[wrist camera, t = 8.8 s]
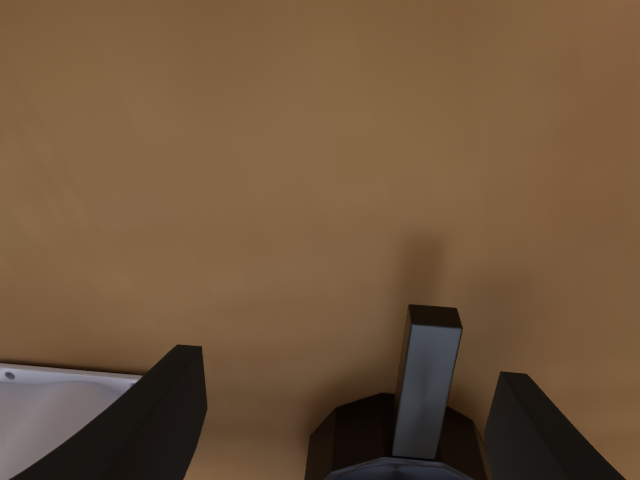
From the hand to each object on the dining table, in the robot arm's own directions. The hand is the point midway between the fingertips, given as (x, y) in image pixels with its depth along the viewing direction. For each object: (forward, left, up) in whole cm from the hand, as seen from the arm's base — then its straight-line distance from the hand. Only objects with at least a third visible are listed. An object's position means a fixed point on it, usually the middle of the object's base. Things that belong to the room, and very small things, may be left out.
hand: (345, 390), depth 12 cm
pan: (+3, -11, -10) cm, 16 cm away
